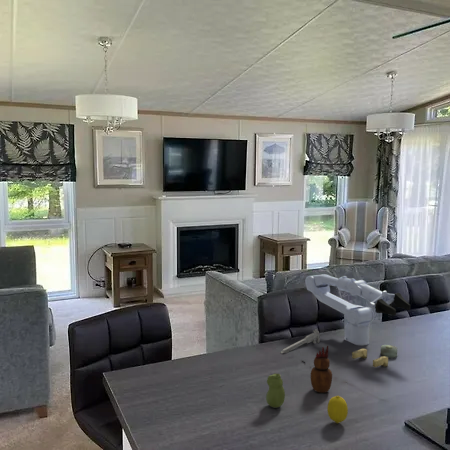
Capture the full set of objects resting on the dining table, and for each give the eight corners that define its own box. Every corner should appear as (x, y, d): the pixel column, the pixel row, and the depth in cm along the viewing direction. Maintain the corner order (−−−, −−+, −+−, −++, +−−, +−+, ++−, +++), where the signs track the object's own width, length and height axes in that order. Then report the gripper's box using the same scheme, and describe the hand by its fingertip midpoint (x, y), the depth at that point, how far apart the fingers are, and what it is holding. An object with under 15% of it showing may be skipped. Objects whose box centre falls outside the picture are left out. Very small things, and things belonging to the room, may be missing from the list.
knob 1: (350, 360, 165) (350, 351, 165) (362, 355, 169) (363, 347, 169) (355, 362, 163) (356, 353, 163) (368, 357, 167) (368, 349, 167)
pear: (274, 413, 130) (275, 379, 129) (262, 405, 134) (262, 373, 133) (288, 407, 134) (288, 374, 133) (275, 400, 138) (275, 368, 137)
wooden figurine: (332, 388, 146) (333, 343, 144) (330, 396, 140) (332, 350, 139) (311, 385, 148) (312, 341, 147) (309, 392, 143) (310, 347, 141)
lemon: (324, 418, 127) (325, 391, 127) (343, 417, 128) (344, 390, 127) (330, 429, 122) (331, 401, 121) (350, 428, 122) (351, 400, 122)
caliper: (317, 343, 187) (317, 328, 186) (319, 343, 186) (319, 329, 185) (280, 353, 175) (280, 337, 175) (282, 354, 174) (282, 338, 174)
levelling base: (348, 361, 167) (348, 349, 167) (380, 349, 179) (381, 338, 179) (380, 374, 156) (381, 362, 156) (412, 361, 168) (413, 349, 167)
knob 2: (371, 368, 158) (371, 359, 158) (383, 363, 162) (383, 355, 162) (376, 370, 156) (377, 361, 156) (389, 365, 160) (389, 357, 160)
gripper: (361, 291, 171) (389, 305, 160) (388, 282, 178) (417, 295, 166) (360, 307, 173) (387, 322, 162) (386, 298, 180) (415, 312, 168)
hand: (402, 310), depth 164 cm, fingers open, 7 cm apart
